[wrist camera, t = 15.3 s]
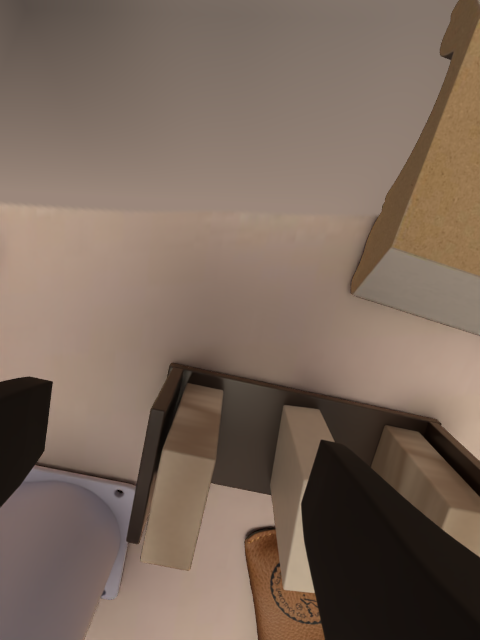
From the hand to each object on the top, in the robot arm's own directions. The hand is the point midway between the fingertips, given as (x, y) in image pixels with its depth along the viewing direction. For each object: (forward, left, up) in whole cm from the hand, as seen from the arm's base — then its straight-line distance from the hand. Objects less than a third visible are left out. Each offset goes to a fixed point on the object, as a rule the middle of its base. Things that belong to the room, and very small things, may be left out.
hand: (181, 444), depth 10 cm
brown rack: (+6, -5, -10) cm, 13 cm away
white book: (+6, -5, -10) cm, 12 cm away
